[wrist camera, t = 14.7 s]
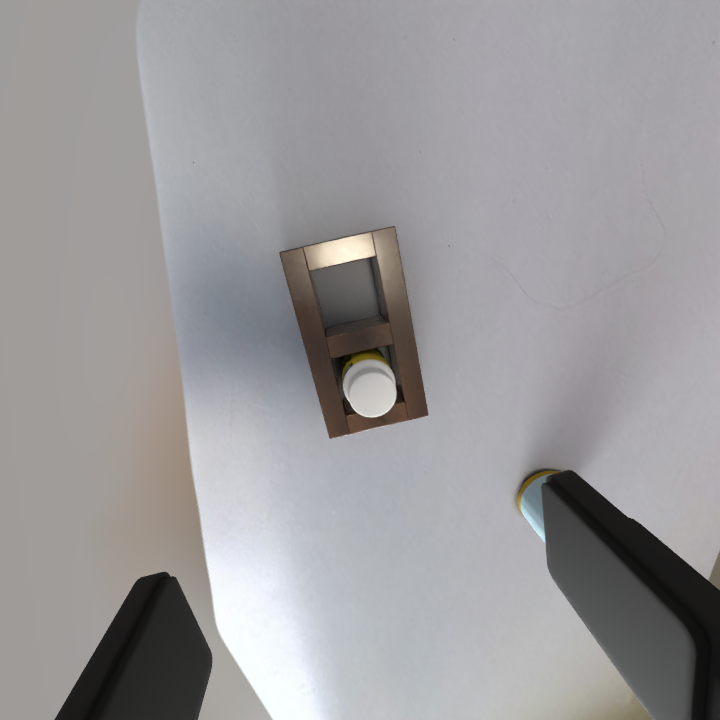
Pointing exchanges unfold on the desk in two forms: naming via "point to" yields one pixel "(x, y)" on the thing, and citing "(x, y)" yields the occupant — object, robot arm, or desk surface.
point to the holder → (357, 328)
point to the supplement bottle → (368, 382)
